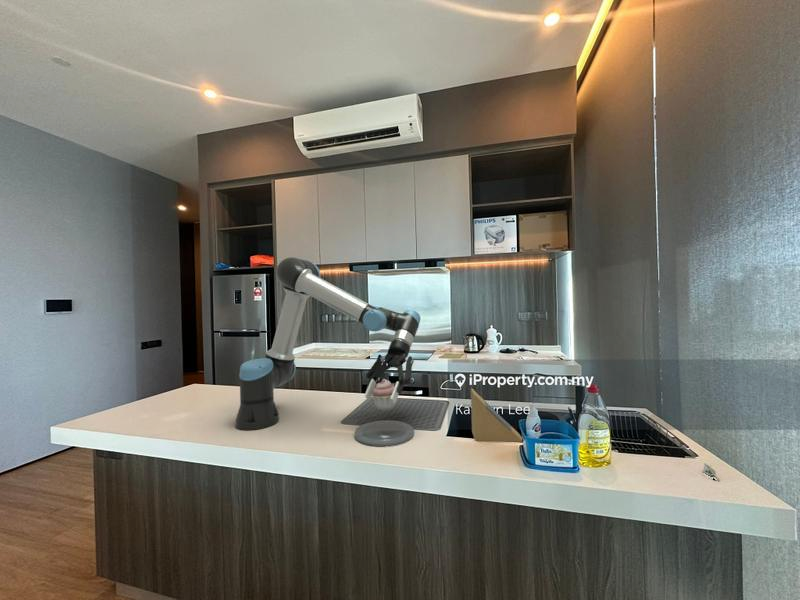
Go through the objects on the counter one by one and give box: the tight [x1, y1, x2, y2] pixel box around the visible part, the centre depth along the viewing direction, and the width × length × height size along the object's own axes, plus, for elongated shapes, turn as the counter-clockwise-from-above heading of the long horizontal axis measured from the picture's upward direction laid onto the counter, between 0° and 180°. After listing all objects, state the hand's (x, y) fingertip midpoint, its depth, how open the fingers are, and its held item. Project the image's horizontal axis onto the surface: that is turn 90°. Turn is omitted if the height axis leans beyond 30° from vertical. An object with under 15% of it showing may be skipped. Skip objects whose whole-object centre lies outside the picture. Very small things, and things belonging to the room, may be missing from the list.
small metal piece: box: [701, 463, 719, 480], centre depth 83 cm, size 6×2×3 cm, turn 163°
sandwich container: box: [470, 387, 523, 443], centre depth 110 cm, size 9×15×15 cm, turn 85°
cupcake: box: [371, 378, 396, 412], centre depth 114 cm, size 9×9×10 cm
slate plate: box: [353, 419, 415, 448], centre depth 114 cm, size 20×20×1 cm
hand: (379, 399), depth 111 cm, fingers closed on cupcake, 9 cm apart
